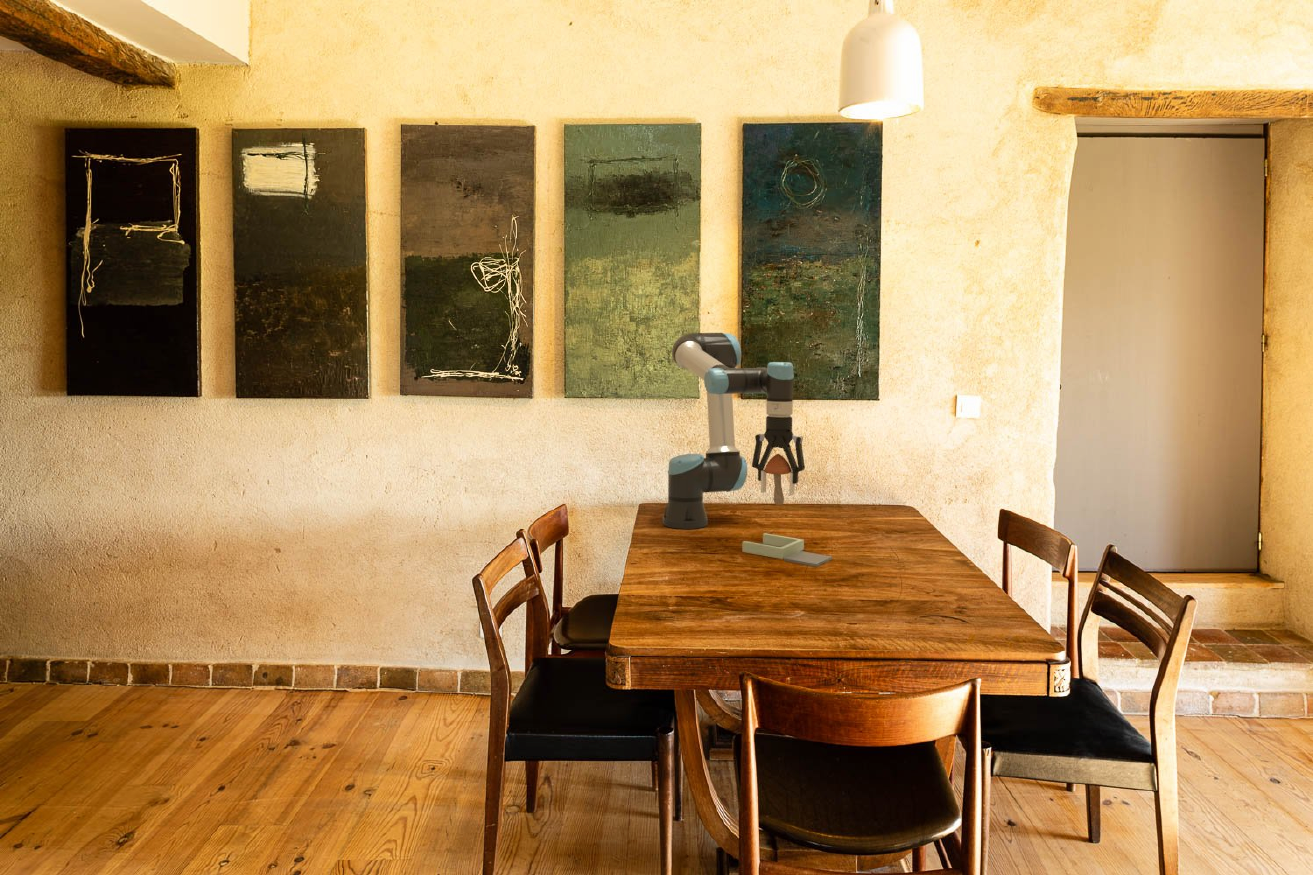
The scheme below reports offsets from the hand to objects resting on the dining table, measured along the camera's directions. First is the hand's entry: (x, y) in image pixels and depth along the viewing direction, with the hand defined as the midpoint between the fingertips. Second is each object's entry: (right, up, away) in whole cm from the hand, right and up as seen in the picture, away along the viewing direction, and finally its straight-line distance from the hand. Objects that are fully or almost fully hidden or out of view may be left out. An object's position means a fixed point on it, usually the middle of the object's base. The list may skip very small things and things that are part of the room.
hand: (777, 493), depth 241 cm
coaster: (+8, -19, -7) cm, 21 cm away
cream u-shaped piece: (-1, -17, +3) cm, 18 cm away
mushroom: (0, -3, 0) cm, 3 cm away
